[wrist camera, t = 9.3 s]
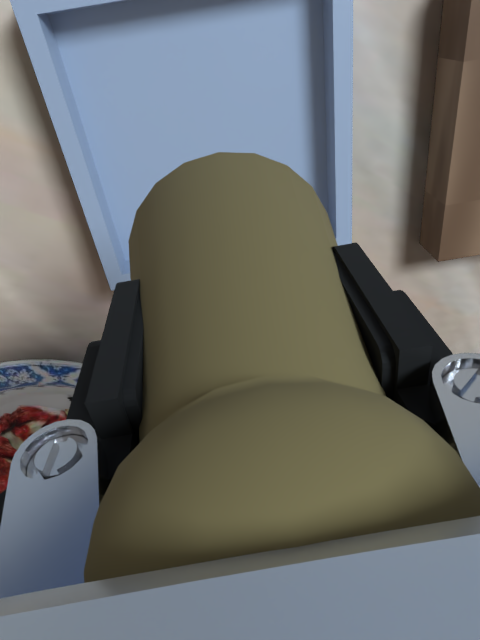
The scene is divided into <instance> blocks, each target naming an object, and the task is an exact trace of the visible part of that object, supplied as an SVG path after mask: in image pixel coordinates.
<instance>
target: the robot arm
mask: <svg viewBox="0 0 480 640" xmlns="http://www.w3.org/2000/svg"><path fill="white" fill-rule="evenodd" d="M332 249H333V251H334V257H335V261H336V264H337V268H338V273H339V278H340V280H341V282H342V285H343V287H344V290H345V292H346V295H347V298H348V300H349V303H350V306H351V308H352V311H353V313H354V316H355V319H356V321H357V324H358V327H359V329H360V332H361V334H362V337H363V340H364V342H365V345H366V348H367V350H368V353H369V356H370V358H371V361H372V363H373V366H374V369H375V371H376V374H377V377H378V379H379V382H380V384H381V387H382V389H383V390H384V392H385V395H386V397H388V398H389V399H391V400H392V401H394V402H395V403H397V404H399V405H400V406H402V407H403V408H405V409H407V410H408V411H410V412H411V413H413V414H414V415H416V416H418V417H419V418H421V419H422V420H424V421H425V422H426V423H427V424H428V425H429V426H430V427H431V428H432V429H433V430H434V431H435V432H436V433H437V434H438V435H440V436H441V437H442V438H443V439H444V440H445V441H446V442H447V443H448V444H449V445H450V446H451V447H452V448H453V449H454V450H455V451H456V452H457V453H458V455H459V456H460V458H461V459H462V461H463V463H464V464H465V466H466V467H467V469H468V470H469V472H470V474H471V475H472V477H473V478H474V480H475V481H476V483H477V485H478V486H479V488H480V354H478V353H460V354H452V352H451V351H450V350H449V348H448V347H447V346H446V345H445V343H444V342H443V341H442V339H441V338H440V337H439V336H438V334H437V333H436V332H435V331H434V329H433V328H432V327H431V325H430V324H429V323H428V322H427V320H426V319H425V318H424V316H423V315H422V314H421V313H420V311H419V310H418V309H417V307H416V306H415V305H414V304H413V302H412V301H411V300H410V298H409V297H408V296H407V295H406V294H405V293H404V292H403V291H401V290H397V291H392V289H391V288H390V287H389V285H388V284H387V283H386V281H385V280H384V278H383V277H382V276H381V274H380V273H379V272H378V270H377V269H376V268H375V266H374V265H373V264H372V262H371V261H370V260H369V258H368V257H367V256H366V254H365V253H364V251H363V250H362V249H361V247H360V246H359V245H358V244H357V243H351V244H345V245H339V246H333V247H332ZM139 288H140V279H137V280H131V281H125V282H119V283H117V284H116V286H115V290H114V294H113V298H112V302H111V305H110V309H109V313H108V317H107V320H106V324H105V328H104V332H103V336H102V339H101V340H100V341H94V342H91V343H89V345H88V347H87V351H86V354H85V357H84V361H83V364H82V367H81V371H80V374H79V377H78V381H77V384H76V387H75V391H74V394H73V397H72V401H71V404H70V407H69V411H68V414H67V417H66V420H62V421H57V422H54V423H52V424H49V425H47V426H44V427H43V428H41V429H39V430H38V431H36V432H35V433H33V434H32V435H31V436H30V437H28V438H27V439H26V440H25V441H24V442H23V443H22V444H21V446H20V447H19V448H18V450H17V451H16V453H15V454H14V457H13V460H12V463H11V466H10V472H9V478H8V484H7V489H6V490H4V491H3V492H2V493H0V640H480V516H475V517H469V518H463V519H457V520H451V521H445V522H439V523H433V524H427V525H421V526H415V527H408V528H402V529H396V530H390V531H384V532H378V533H372V534H367V535H361V536H355V537H349V538H343V539H337V540H331V541H325V542H320V543H315V544H310V545H306V546H301V547H294V548H287V549H280V550H273V551H266V552H260V553H254V554H249V555H243V556H237V557H231V558H225V559H219V560H213V561H207V562H202V563H196V564H190V565H184V566H179V567H173V568H167V569H162V570H156V571H150V572H145V573H139V574H133V575H127V576H122V577H116V578H110V579H105V580H99V581H93V582H87V583H84V568H85V563H86V558H87V553H88V548H89V543H90V538H91V533H92V528H93V523H94V520H95V517H96V514H97V511H98V508H99V505H100V503H101V501H102V499H103V497H104V495H105V493H106V491H107V488H108V486H109V484H110V482H111V480H112V478H113V476H114V474H115V472H116V470H117V468H118V466H119V464H120V463H121V462H122V461H123V460H124V459H125V458H126V457H127V456H128V455H129V454H130V453H131V452H132V451H133V450H134V448H135V447H136V446H137V445H138V444H139V443H140V439H139V426H140V423H141V421H142V402H143V334H144V326H143V317H142V308H141V300H140V291H139Z"/></svg>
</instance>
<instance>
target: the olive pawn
mask: <svg viewBox="0 0 480 640" xmlns="http://www.w3.org/2000/svg"><path fill="white" fill-rule="evenodd" d="M128 243H129V261H130V278H131V280H137V279H140V288H139V291H140V300H141V308H142V317H143V326H144V334H143V402H142V421H141V423H140V426H139V439H140V443H139V444H138V445H137V446H136V447H135V448H134V450H133V451H132V452H131V453H130V454H129V455H128V456H127V457H126V458H125V459H124V460H123V461H122V462H121V463H120V464H119V466H118V468H117V470H116V472H115V474H114V476H113V478H112V480H111V482H110V484H109V486H108V488H107V491H106V493H105V495H104V497H103V499H102V501H101V503H100V505H99V508H98V511H97V514H96V517H95V520H94V523H93V528H92V533H91V538H90V543H89V548H88V553H87V558H86V563H85V568H84V583H87V582H93V581H99V580H105V579H110V578H116V577H122V576H127V575H133V574H139V573H145V572H150V571H156V570H162V569H167V568H173V567H179V566H184V565H190V564H196V563H202V562H207V561H213V560H219V559H225V558H231V557H237V556H243V555H249V554H254V553H260V552H266V551H273V550H280V549H287V548H294V547H301V546H306V545H310V544H315V543H320V542H325V541H331V540H337V539H343V538H349V537H355V536H361V535H367V534H372V533H378V532H384V531H390V530H396V529H402V528H408V527H415V526H421V525H427V524H433V523H439V522H445V521H451V520H457V519H463V518H469V517H475V516H480V488H479V486H478V485H477V483H476V481H475V480H474V478H473V477H472V475H471V474H470V472H469V470H468V469H467V467H466V466H465V464H464V463H463V461H462V459H461V458H460V456H459V455H458V453H457V452H456V451H455V450H454V449H453V448H452V447H451V446H450V445H449V444H448V443H447V442H446V441H445V440H444V439H443V438H442V437H441V436H440V435H438V434H437V433H436V432H435V431H434V430H433V429H432V428H431V427H430V426H429V425H428V424H427V423H426V422H425V421H424V420H422V419H421V418H419V417H418V416H416V415H414V414H413V413H411V412H410V411H408V410H407V409H405V408H403V407H402V406H400V405H399V404H397V403H395V402H394V401H392V400H391V399H389V398H388V397H386V395H385V392H384V390H383V389H382V387H381V384H380V382H379V379H378V377H377V374H376V371H375V369H374V366H373V363H372V361H371V358H370V356H369V353H368V350H367V348H366V345H365V342H364V340H363V337H362V334H361V332H360V329H359V327H358V324H357V321H356V319H355V316H354V313H353V311H352V308H351V306H350V303H349V300H348V298H347V295H346V292H345V290H344V287H343V285H342V282H341V280H340V278H339V273H338V268H337V264H336V261H335V257H334V251H333V249H332V247H333V246H338V245H337V242H336V239H335V235H334V232H333V229H332V226H331V223H330V220H329V217H328V214H327V212H326V210H325V208H324V206H323V205H322V203H321V201H320V199H319V198H318V196H317V194H316V192H315V191H314V189H313V187H312V186H311V185H310V184H309V183H307V182H306V181H305V180H304V179H303V178H302V177H300V176H299V175H298V174H297V173H296V172H294V171H293V170H292V169H291V168H290V167H289V166H287V165H285V164H282V163H280V162H277V161H274V160H272V159H269V158H266V157H264V156H261V155H258V154H256V153H232V152H217V153H214V154H211V155H208V156H204V157H201V158H198V159H195V160H191V161H188V162H185V163H183V164H182V165H180V166H179V167H177V168H176V169H175V170H173V171H172V172H170V173H169V174H168V175H166V176H165V177H164V178H162V179H161V180H159V181H158V182H157V183H155V185H154V186H153V188H152V189H151V190H150V192H149V193H148V195H147V196H146V198H145V199H144V201H143V202H142V203H141V205H140V206H139V208H138V209H137V211H136V214H135V218H134V222H133V226H132V229H131V233H130V237H129V241H128Z"/></svg>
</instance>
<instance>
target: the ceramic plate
mask: <svg viewBox="0 0 480 640" xmlns="http://www.w3.org/2000/svg"><path fill="white" fill-rule="evenodd" d="M82 364H83V363H79V362H71V361H62V360H52V359H40V360H17V361H7V362H2V363H0V493H2V492H3V491H4V490H6V489H7V484H8V478H9V472H10V466H11V463H12V460H13V457H14V454H15V453H16V451H17V450H18V448H19V447H20V446H21V444H22V443H23V442H24V441H25V440H26V439H27V438H28V437H30V436H31V435H32V434H33V433H35V432H36V431H38V430H39V429H41V428H43V427H44V426H47V425H49V424H52V423H54V422H57V421H62V420H66V417H67V414H68V411H69V407H70V404H71V401H72V397H73V394H74V391H75V387H76V384H77V381H78V377H79V374H80V371H81V367H82Z"/></svg>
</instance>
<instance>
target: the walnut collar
mask: <svg viewBox="0 0 480 640" xmlns="http://www.w3.org/2000/svg"><path fill="white" fill-rule="evenodd" d="M420 244H421V245H422V246H423V247H424V248H425V249H426V250H427V251H428V252H429V253H430V254H431V255H432V256H433V257H434V258H435V259H436V260H437V261H438V262H439V261H445V260H451V259H457V258H463V257H469V256H475V255H480V0H443V10H442V20H441V30H440V40H439V50H438V60H437V71H436V81H435V91H434V101H433V111H432V121H431V132H430V142H429V152H428V162H427V172H426V182H425V193H424V203H423V213H422V223H421V233H420Z"/></svg>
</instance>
